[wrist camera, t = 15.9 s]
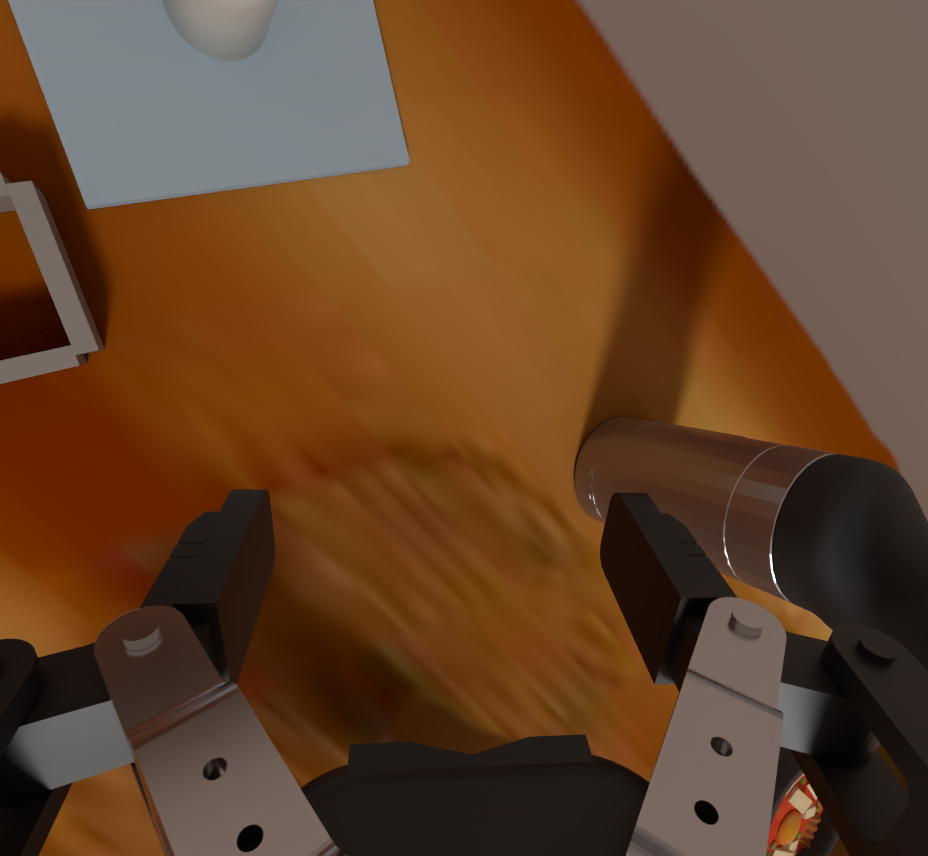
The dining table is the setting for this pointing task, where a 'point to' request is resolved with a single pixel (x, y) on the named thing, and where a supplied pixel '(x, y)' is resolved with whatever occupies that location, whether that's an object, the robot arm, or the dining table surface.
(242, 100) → the mat
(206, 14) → the cream tall cylinder
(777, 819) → the casserole
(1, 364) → the cup holder
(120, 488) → the dining table surface
